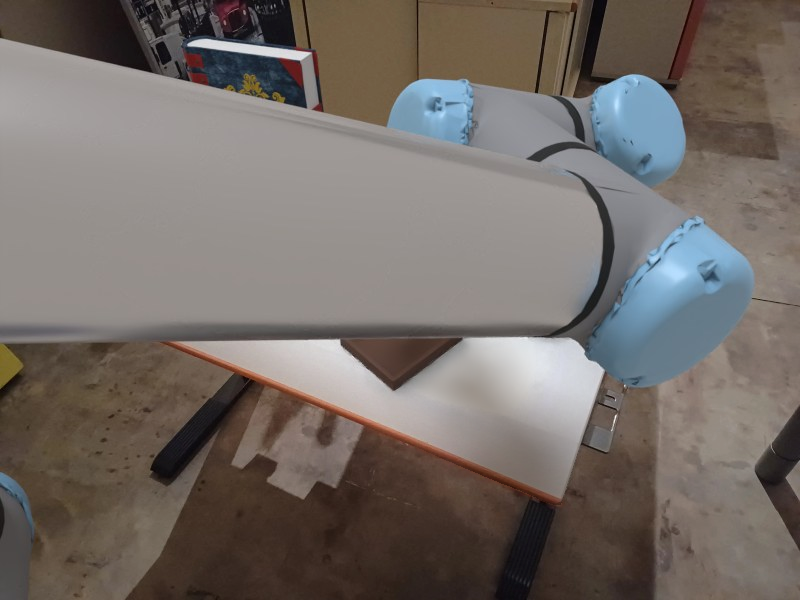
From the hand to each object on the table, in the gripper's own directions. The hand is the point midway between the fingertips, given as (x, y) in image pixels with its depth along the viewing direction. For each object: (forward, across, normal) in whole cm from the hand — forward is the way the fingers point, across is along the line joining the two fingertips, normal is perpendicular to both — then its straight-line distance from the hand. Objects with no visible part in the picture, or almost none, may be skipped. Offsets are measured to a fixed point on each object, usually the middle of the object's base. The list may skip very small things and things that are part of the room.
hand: (391, 260), depth 69 cm
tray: (+9, 0, -11) cm, 14 cm away
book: (+46, +12, +26) cm, 54 cm away
